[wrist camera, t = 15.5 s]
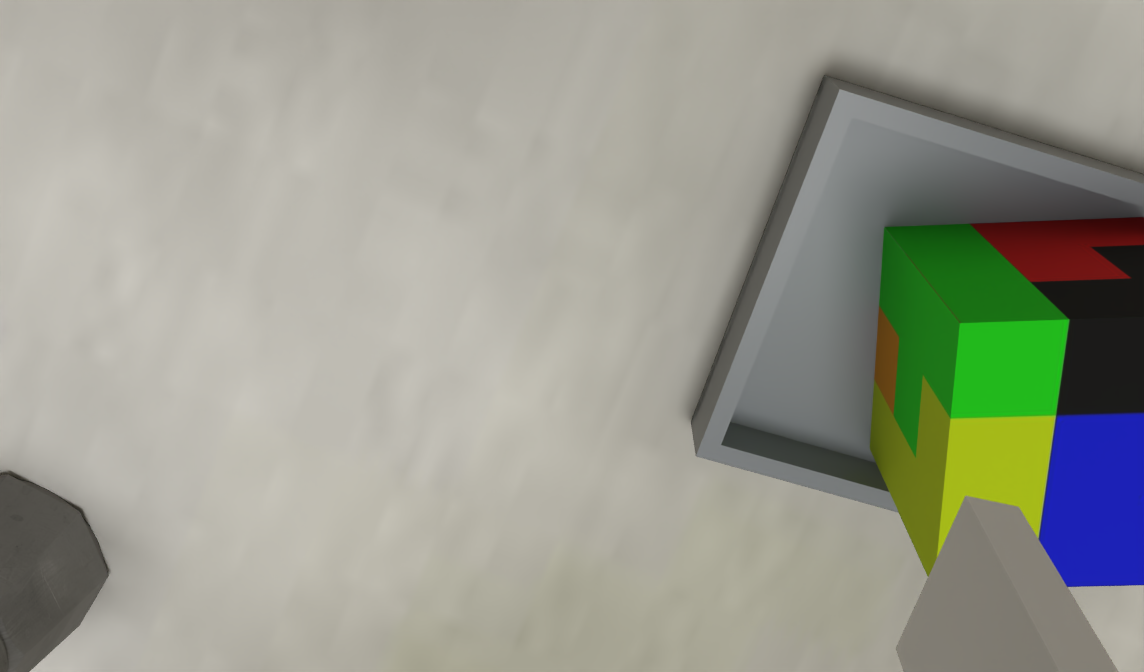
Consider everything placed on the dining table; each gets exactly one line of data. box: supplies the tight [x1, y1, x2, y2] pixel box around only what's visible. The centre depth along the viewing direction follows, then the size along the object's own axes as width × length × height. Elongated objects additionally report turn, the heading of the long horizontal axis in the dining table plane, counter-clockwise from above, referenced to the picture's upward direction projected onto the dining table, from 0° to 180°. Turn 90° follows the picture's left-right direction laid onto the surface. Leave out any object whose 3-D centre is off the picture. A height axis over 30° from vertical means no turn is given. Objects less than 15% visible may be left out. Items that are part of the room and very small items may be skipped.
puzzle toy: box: [870, 217, 1144, 587], centre depth 39 cm, size 10×10×10 cm
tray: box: [691, 75, 1144, 513], centre depth 43 cm, size 16×22×3 cm
